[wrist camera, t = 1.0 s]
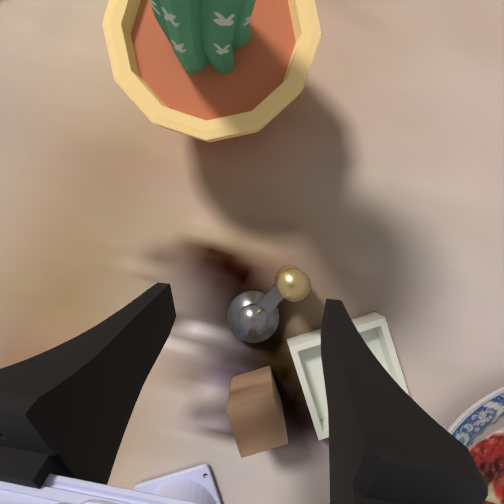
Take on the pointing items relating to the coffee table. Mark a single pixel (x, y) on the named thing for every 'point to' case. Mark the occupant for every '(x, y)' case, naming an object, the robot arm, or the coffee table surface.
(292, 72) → the potted cactus
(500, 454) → the ceramic plate
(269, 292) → the brass cylinder knob
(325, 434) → the tray
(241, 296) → the disc
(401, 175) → the coffee table surface
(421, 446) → the robot arm
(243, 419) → the block
